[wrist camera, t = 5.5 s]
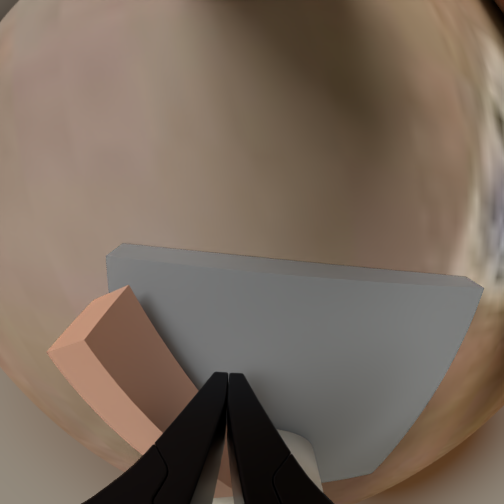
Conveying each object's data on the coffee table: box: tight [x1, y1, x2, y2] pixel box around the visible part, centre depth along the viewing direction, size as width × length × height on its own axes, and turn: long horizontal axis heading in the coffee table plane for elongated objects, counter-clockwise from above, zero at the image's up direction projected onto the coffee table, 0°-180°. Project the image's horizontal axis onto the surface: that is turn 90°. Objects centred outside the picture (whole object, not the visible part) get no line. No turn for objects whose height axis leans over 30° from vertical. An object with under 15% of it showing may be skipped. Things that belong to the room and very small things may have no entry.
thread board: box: [106, 243, 484, 483], centre depth 10 cm, size 16×16×6 cm
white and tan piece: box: [47, 285, 323, 504], centre depth 9 cm, size 15×7×4 cm, turn 22°
